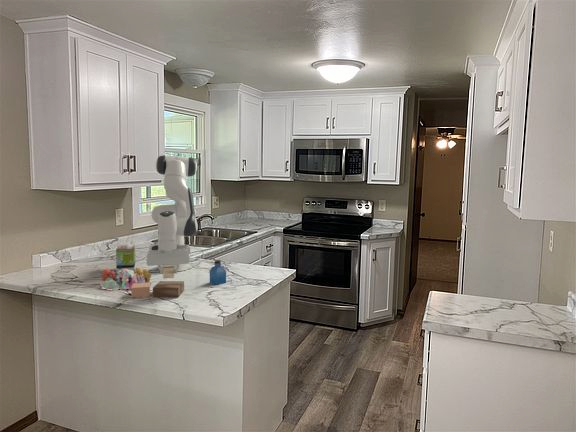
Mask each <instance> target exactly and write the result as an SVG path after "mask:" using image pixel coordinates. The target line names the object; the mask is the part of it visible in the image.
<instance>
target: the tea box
mask: <svg viewBox="0 0 576 432" xmlns="http://www.w3.org/2000/svg"><path fill="white" fill-rule="evenodd" d="M115 257H116V258H115V260H116V261H115V262H116V263H115V265H116V266H115V267H116V268H115V269H116V273H115V275H117V273H118V271H122V270H123V269H128V270H132V271H133V272H134V273H135V270H136V268H137V267H136V244H118V245H117V246H116V249H115Z"/></svg>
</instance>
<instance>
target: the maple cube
mask: <svg viewBox="0 0 576 432" xmlns="http://www.w3.org/2000/svg"><path fill="white" fill-rule="evenodd" d="M162 278H163V279H174V278H175V274H174V265H172V266H163V274H162Z"/></svg>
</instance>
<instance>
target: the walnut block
mask: <svg viewBox="0 0 576 432" xmlns="http://www.w3.org/2000/svg"><path fill="white" fill-rule="evenodd" d="M184 291H185V281H184V280H181V281H180V280H177V281H176V280H159V281H158V282H157V283H156V284H155V285H154V286H153V287H152V298H179V297H180V296H181V295H182V294H183V293H184Z"/></svg>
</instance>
